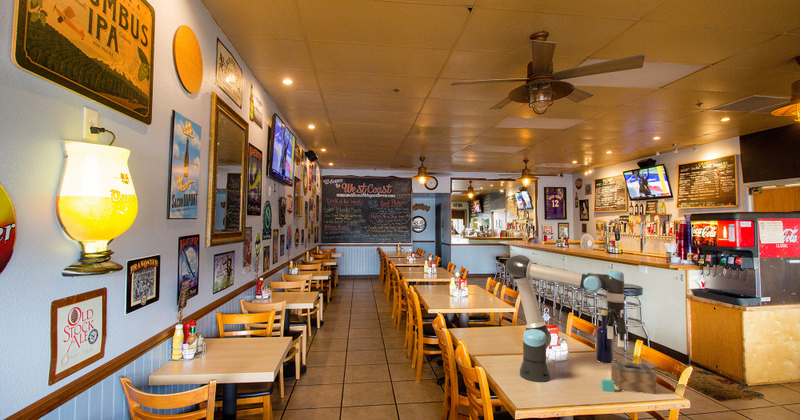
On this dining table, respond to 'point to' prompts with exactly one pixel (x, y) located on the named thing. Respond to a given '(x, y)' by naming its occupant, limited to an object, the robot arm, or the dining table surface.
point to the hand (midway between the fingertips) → (615, 342)
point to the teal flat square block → (607, 385)
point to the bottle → (603, 342)
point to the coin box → (633, 377)
